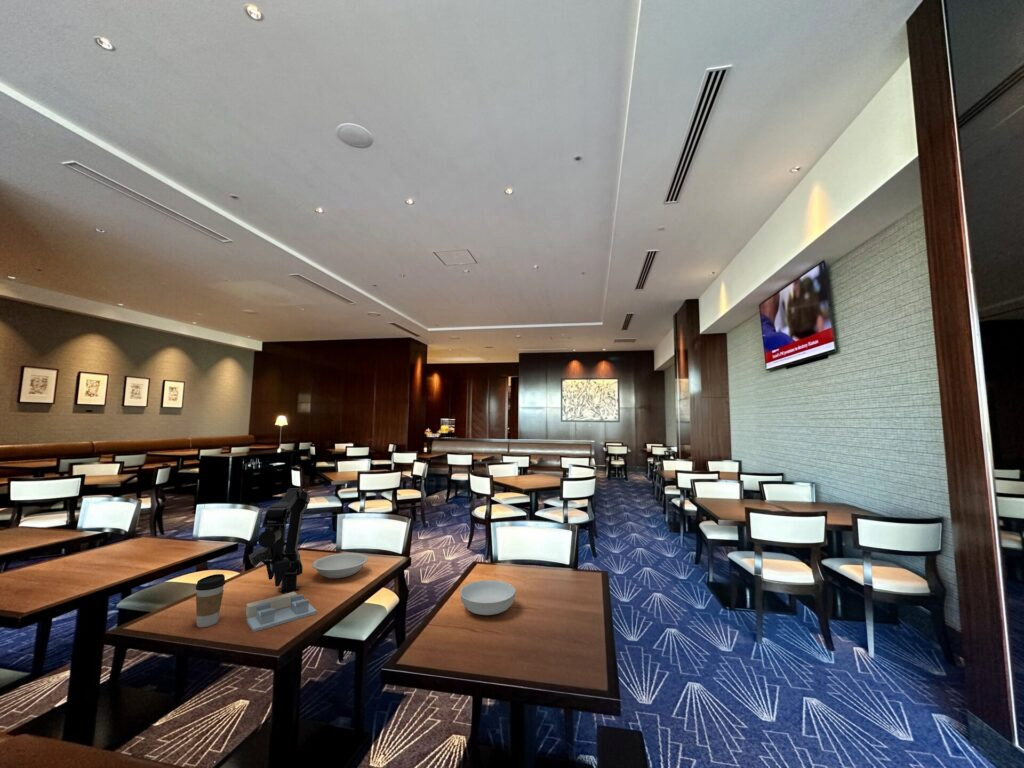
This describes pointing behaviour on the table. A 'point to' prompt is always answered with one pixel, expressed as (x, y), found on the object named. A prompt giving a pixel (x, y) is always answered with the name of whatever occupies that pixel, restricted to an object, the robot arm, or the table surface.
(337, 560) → the soup bowl
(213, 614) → the coffee cup
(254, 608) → the strip
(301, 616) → the rack
